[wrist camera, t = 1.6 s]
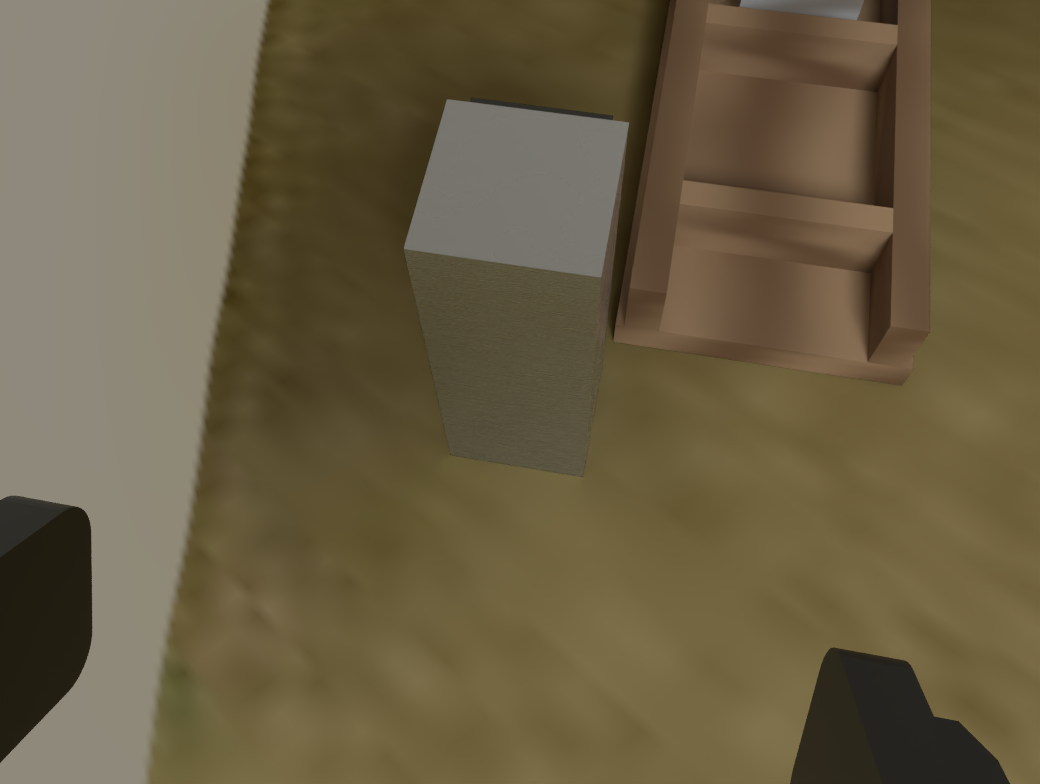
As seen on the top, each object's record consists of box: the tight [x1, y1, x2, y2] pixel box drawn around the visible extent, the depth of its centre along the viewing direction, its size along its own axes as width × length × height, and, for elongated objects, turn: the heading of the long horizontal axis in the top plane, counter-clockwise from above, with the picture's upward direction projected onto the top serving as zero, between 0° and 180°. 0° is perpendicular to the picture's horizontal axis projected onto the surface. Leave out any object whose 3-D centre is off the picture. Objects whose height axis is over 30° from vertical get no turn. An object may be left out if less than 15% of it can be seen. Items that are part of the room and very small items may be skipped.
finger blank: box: [404, 98, 629, 477], centre depth 28 cm, size 4×5×12 cm
